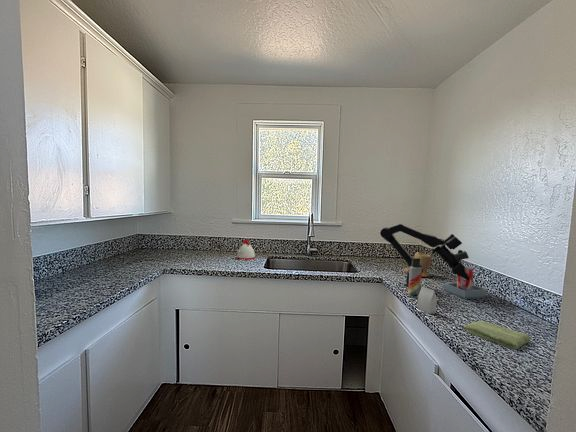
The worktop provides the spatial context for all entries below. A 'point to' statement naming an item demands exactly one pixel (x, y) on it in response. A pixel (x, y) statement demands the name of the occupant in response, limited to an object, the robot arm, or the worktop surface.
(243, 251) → the white rounded cone
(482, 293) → the bin
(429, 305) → the tea bag
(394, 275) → the worktop surface
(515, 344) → the washcloth
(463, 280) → the soda can
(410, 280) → the lotion bottle
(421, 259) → the stone cup
